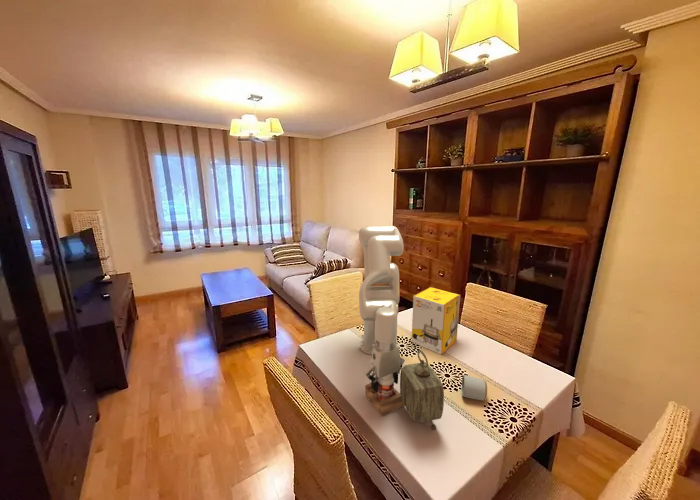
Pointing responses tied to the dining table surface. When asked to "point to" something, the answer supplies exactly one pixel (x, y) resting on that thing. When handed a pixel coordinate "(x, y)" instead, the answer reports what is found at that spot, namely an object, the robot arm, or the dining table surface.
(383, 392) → the pill bottle
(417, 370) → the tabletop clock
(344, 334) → the dining table surface
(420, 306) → the packaging box
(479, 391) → the ceramic mug
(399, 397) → the tray
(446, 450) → the dining table surface
